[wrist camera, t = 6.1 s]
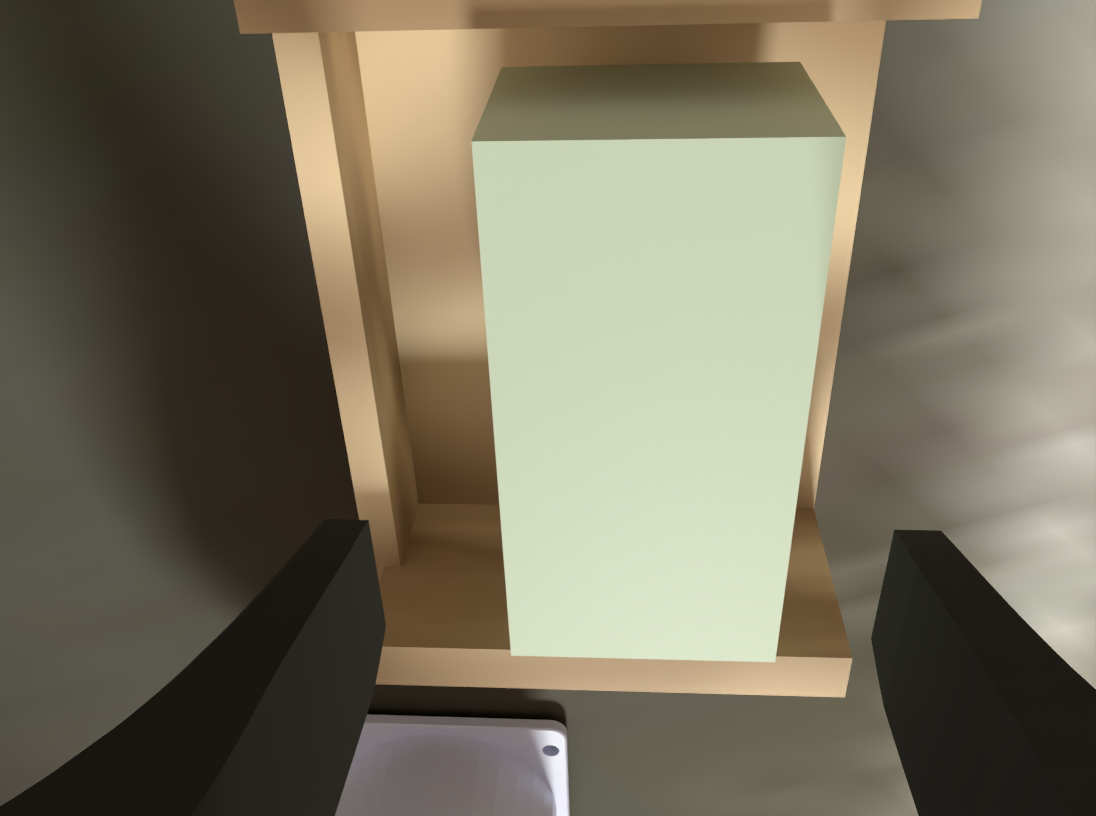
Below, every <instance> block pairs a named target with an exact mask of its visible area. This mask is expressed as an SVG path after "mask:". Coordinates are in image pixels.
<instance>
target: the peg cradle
mask: <svg viewBox="0 0 1096 816" xmlns="http://www.w3.org/2000/svg"><path fill="white" fill-rule="evenodd" d="M981 3H982V0H234V5H235V10H236V15H237V20H238V25H239V30H240V34H263V33H272V37H273V42H274V48H275V53H276V59H277V64H278V70H279V76H280V81H281V87H282V92H283V98H284V103H285V109H286V115H287V120H288V126H289V131H290V137H291V142H292V148H293V154H294V159H295V165H296V170H297V176H298V181H299V187H300V193H301V198H302V204H303V209H304V215H305V220H306V226H307V232H308V237H309V243H310V248H311V254H312V259H313V265H314V271H315V276H316V282H317V287H318V293H319V298H320V304H321V310H322V315H323V321H324V326H325V332H326V337H327V343H328V349H329V354H330V360H331V365H332V371H333V376H334V382H335V388H336V393H337V399H338V404H339V410H340V415H341V421H342V427H343V432H344V438H345V443H346V449H347V454H348V460H349V466H350V471H351V477H352V482H353V488H354V493H355V499H356V505H357V510H358V516H359V520H369V526H370V532H371V538H372V544H373V550H374V556H375V562H376V568H377V574H378V580H379V586H380V592H381V598H382V604H383V610H384V616H385V622H386V629H385V635H384V640H383V646H382V652H381V658H380V663H379V668H378V673H377V679H376V684H383V685H419V686H455V687H492V688H528V689H564V690H600V691H636V692H672V693H708V694H745V695H781V696H817V697H845V694H846V689H847V684H848V679H849V673H850V668H851V663H852V654H851V651H850V647H849V643H848V639H847V635H846V631H845V628H844V624H843V620H842V616H841V612H840V608H839V604H838V601H837V597H836V593H835V589H834V585H833V581H832V578H831V574H830V570H829V566H828V562H827V558H826V554H825V551H824V547H823V543H822V539H821V535H820V531H819V527H818V524H817V520H816V516H815V512H814V504H815V497H816V490H817V484H818V477H819V470H820V463H821V457H822V450H823V443H824V436H825V430H826V423H827V416H828V409H829V403H830V396H831V389H832V382H833V376H834V369H835V362H836V355H837V349H838V342H839V335H840V328H841V321H842V315H843V308H844V301H845V294H846V288H847V281H848V274H849V267H850V261H851V254H852V247H853V240H854V234H855V227H856V220H857V213H858V207H859V200H860V193H861V186H862V180H863V173H864V166H865V159H866V153H867V146H868V139H869V132H870V125H871V119H872V112H873V105H874V98H875V92H876V85H877V78H878V71H879V65H880V58H881V51H882V44H883V38H884V31H885V24H886V20H925V19H972V18H979V13H980V8H981ZM750 62H801V64H802V65H803V67H804V69H805V70H806V72H807V74H808V75H809V77H810V78H811V80H812V82H813V83H814V85H815V87H816V88H817V90H818V92H819V93H820V95H821V96H822V98H823V100H824V101H825V103H826V105H827V106H828V108H829V109H830V111H831V113H832V114H833V116H834V118H835V119H836V121H837V122H838V124H839V126H840V127H841V129H842V131H843V132H844V134H845V135H846V143H845V150H844V157H843V165H842V172H841V180H840V187H839V194H838V202H837V209H836V217H835V224H834V231H833V239H832V246H831V254H830V261H829V268H828V276H827V283H826V290H825V298H824V305H823V313H822V320H821V327H820V335H819V342H818V350H817V357H816V364H815V372H814V379H813V387H812V394H811V401H810V409H809V416H808V423H807V431H806V438H805V446H804V453H803V460H802V468H801V475H800V483H799V490H798V497H797V505H796V512H795V520H794V527H793V534H792V542H791V549H790V557H789V564H788V571H787V579H786V586H785V593H784V601H783V608H782V616H781V623H780V630H779V638H778V645H777V653H776V660H775V662H742V661H702V660H663V659H623V658H584V657H544V656H511V648H510V635H509V622H508V610H507V597H506V584H505V571H504V558H503V545H502V532H501V519H500V506H499V493H498V480H497V467H496V454H495V441H494V428H493V415H492V402H491V389H490V376H489V363H488V350H487V337H486V324H485V311H484V299H483V286H482V273H481V260H480V247H479V234H478V221H477V208H476V195H475V182H474V169H473V156H472V143H471V141H472V139H473V136H474V134H475V131H476V129H477V127H478V124H479V122H480V119H481V117H482V114H483V112H484V109H485V107H486V105H487V102H488V100H489V97H490V95H491V92H492V90H493V87H494V85H495V82H496V80H497V78H498V75H499V73H500V70H501V68H502V67H530V66H585V65H640V64H695V63H750Z"/></svg>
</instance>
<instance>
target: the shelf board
mask: <svg viewBox="0 0 1096 816" xmlns="http://www.w3.org/2000/svg"><path fill="white" fill-rule="evenodd" d="M471 143H472V156H473V169H474V182H475V195H476V208H477V221H478V234H479V247H480V260H481V273H482V286H483V299H484V311H485V324H486V337H487V350H488V363H489V376H490V389H491V402H492V415H493V428H494V441H495V454H496V467H497V480H498V493H499V506H500V519H501V532H502V545H503V558H504V571H505V584H506V597H507V610H508V622H509V635H510V648H511V656H544V657H584V658H623V659H663V660H702V661H742V662H775V660H776V653H777V645H778V638H779V630H780V623H781V616H782V608H783V601H784V593H785V586H786V579H787V571H788V564H789V557H790V549H791V542H792V534H793V527H794V520H795V512H796V505H797V497H798V490H799V483H800V475H801V468H802V460H803V453H804V446H805V438H806V431H807V423H808V416H809V409H810V401H811V394H812V387H813V379H814V372H815V364H816V357H817V350H818V342H819V335H820V327H821V320H822V313H823V305H824V298H825V290H826V283H827V276H828V268H829V261H830V254H831V246H832V239H833V231H834V224H835V217H836V209H837V202H838V194H839V187H840V180H841V172H842V165H843V157H844V150H845V143H846V135H845V134H844V132H843V131H842V129H841V127H840V126H839V124H838V122H837V121H836V119H835V118H834V116H833V114H832V113H831V111H830V109H829V108H828V106H827V105H826V103H825V101H824V100H823V98H822V96H821V95H820V93H819V92H818V90H817V88H816V87H815V85H814V83H813V82H812V80H811V78H810V77H809V75H808V74H807V72H806V70H805V69H804V67H803V65H802V64H801V62H750V63H695V64H640V65H585V66H530V67H502V68H501V70H500V73H499V75H498V78H497V80H496V82H495V85H494V87H493V90H492V92H491V95H490V97H489V100H488V102H487V105H486V107H485V109H484V112H483V114H482V117H481V119H480V122H479V124H478V127H477V129H476V131H475V134H474V136H473V139H472V141H471Z"/></svg>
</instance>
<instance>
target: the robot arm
mask: <svg viewBox="0 0 1096 816" xmlns="http://www.w3.org/2000/svg"><path fill="white" fill-rule="evenodd" d="M385 629H386V622H385V616H384V610H383V604H382V598H381V592H380V586H379V580H378V574H377V568H376V562H375V556H374V550H373V544H372V538H371V532H370V526H369V520H334V519H326V520H325V521H324V522H323V523H322V524H321V525H319V527H318V528H317V529H316V530H315V531H314V532H313V533H312V534H311V536H310V537H309V538H308V539H307V540H306V541H305V542H304V544H303V545H302V546H301V547H300V548H299V549H298V551H297V552H296V553H295V554H294V555H293V556H292V557H291V559H290V560H289V561H288V562H287V563H286V564H285V565H284V567H283V568H282V569H281V570H280V571H279V572H278V573H277V574H276V575H275V577H274V578H273V579H272V580H271V581H270V582H269V583H268V584H267V586H266V587H265V588H264V589H263V590H262V591H261V592H260V593H259V594H258V595H257V596H256V597H255V598H254V599H253V601H252V602H251V603H250V604H249V605H248V606H247V607H246V608H245V609H244V610H243V611H242V612H241V613H240V614H239V615H238V617H237V618H236V619H235V620H234V621H233V622H232V623H231V624H230V625H229V626H228V627H227V628H226V629H225V630H224V631H223V632H222V633H221V634H220V635H219V636H218V637H217V638H216V639H215V640H214V641H213V642H212V643H211V644H210V645H209V646H208V647H206V648H205V649H204V650H203V651H202V652H201V653H200V654H199V655H198V656H197V657H196V658H195V659H194V660H193V661H192V662H191V663H190V664H189V665H188V666H187V667H186V668H185V669H184V670H183V671H182V672H180V673H179V674H178V675H177V676H176V677H175V678H174V679H173V680H172V681H170V682H169V683H168V684H167V685H166V686H165V687H164V688H163V689H161V690H160V691H159V692H158V693H157V694H156V695H154V696H153V697H152V698H151V699H150V700H149V701H147V702H146V703H145V704H144V705H143V706H141V707H140V708H139V709H138V710H136V711H135V712H134V713H133V714H132V715H130V716H129V717H128V718H127V719H126V720H124V721H123V722H122V723H120V724H119V725H118V726H117V727H115V728H114V729H113V730H111V731H110V732H108V733H107V734H106V735H104V736H103V737H102V738H100V739H99V740H97V741H96V742H95V743H93V744H92V745H90V746H89V747H88V748H86V749H85V750H83V751H82V752H81V753H79V754H78V755H77V756H75V757H74V758H72V759H71V760H70V761H68V762H67V763H65V764H64V765H63V766H61V767H60V768H58V769H57V770H56V771H54V772H53V773H51V774H50V775H48V776H47V777H45V778H44V779H42V780H41V781H39V782H38V783H36V784H35V785H33V786H32V787H30V788H29V789H27V790H25V791H24V792H22V793H21V794H19V795H18V796H16V797H15V798H13V799H12V800H10V801H8V802H7V803H5V804H3V805H2V806H0V816H570V802H569V773H568V744H567V730H566V727H565V726H564V725H563V724H562V723H560V722H558V721H554V720H537V719H504V718H471V717H437V716H404V715H370V714H367V713H368V710H369V706H370V703H371V700H372V696H373V693H374V689H375V684H376V679H377V673H378V668H379V663H380V658H381V652H382V646H383V640H384V635H385ZM871 640H872V645H873V651H874V657H875V662H876V668H877V674H878V679H879V684H880V689H881V694H882V699H883V704H884V709H885V712H886V715H887V718H888V722H889V725H890V728H891V731H892V734H893V738H894V741H895V744H896V747H897V750H898V753H899V756H900V760H901V763H902V766H903V769H904V772H905V775H906V778H907V781H908V784H909V787H910V790H911V793H912V797H913V800H914V803H915V806H916V809H917V812H918V815H919V816H1096V689H1094V688H1093V687H1092V686H1091V685H1090V684H1089V683H1088V682H1087V681H1086V680H1085V679H1084V678H1082V677H1081V676H1080V675H1079V674H1078V673H1077V672H1076V671H1075V670H1074V669H1073V668H1071V667H1070V666H1069V665H1068V664H1067V663H1066V662H1065V661H1064V660H1063V659H1062V658H1061V657H1060V656H1059V655H1058V654H1057V653H1056V652H1055V651H1054V650H1053V649H1052V648H1051V647H1050V646H1049V645H1048V644H1047V643H1046V642H1045V641H1044V640H1043V639H1042V638H1041V637H1040V636H1039V635H1038V634H1037V633H1036V632H1035V631H1034V630H1033V629H1032V628H1031V627H1030V626H1029V625H1028V624H1027V623H1026V622H1025V621H1024V620H1023V619H1022V618H1021V617H1020V616H1019V614H1018V613H1017V612H1016V611H1015V610H1014V609H1013V608H1012V607H1011V606H1010V605H1009V604H1008V603H1007V602H1006V601H1005V600H1004V599H1003V598H1002V596H1001V595H1000V594H999V593H998V592H997V591H996V590H995V589H994V588H993V587H992V586H991V585H990V584H989V582H988V581H987V580H986V579H985V578H984V577H983V576H982V575H981V574H980V573H979V572H978V570H977V569H976V568H975V567H974V566H973V565H972V564H971V563H970V562H969V561H968V559H967V558H966V557H965V556H964V555H963V554H962V553H961V552H960V551H959V550H958V549H957V547H956V546H955V545H954V544H953V543H952V542H951V541H950V540H949V539H948V538H947V537H946V536H945V535H944V534H943V532H942V531H927V530H894V534H893V539H892V544H891V548H890V553H889V558H888V562H887V567H886V572H885V576H884V581H883V586H882V590H881V595H880V600H879V604H878V609H877V614H876V618H875V623H874V628H873V632H872V637H871ZM551 745H552V746H551Z"/></svg>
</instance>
